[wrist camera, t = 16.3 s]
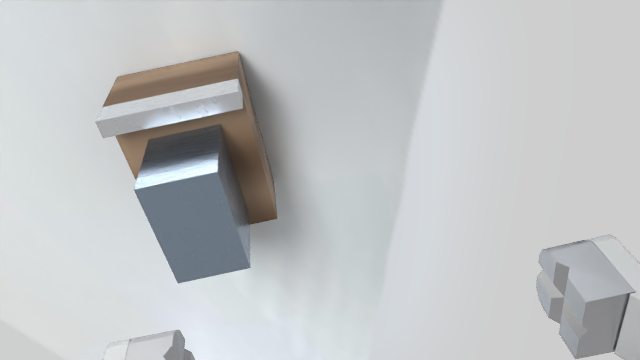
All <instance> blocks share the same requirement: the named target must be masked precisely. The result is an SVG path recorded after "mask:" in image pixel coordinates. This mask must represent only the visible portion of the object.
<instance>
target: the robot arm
mask: <svg viewBox="0 0 640 360" xmlns="http://www.w3.org/2000/svg"><path fill="white" fill-rule="evenodd" d="M539 263H540V265H541V267H542V268H543V271H542V272H541V273H540V274H539V275H538V276H537V292H538V296H539V300H540V302H541V305H542V307H543V309H544V311H545V312H546V314H547V316H548V317H549V318H551V319H552V320H554V321H556V322H558V323H560V331H559V334H560V336H561V338H562V339H563V341H564V342H565V344H566V345H567V347H568V348H569V350H570V352H571V353H572V355H573V356H574V357H575V359H578V358H583V357H588V356H593V355H599V354H604V353H609V352H614V351H615V354H616V355H618V356H619V357H621V358H622V359H624V360H640V263H639V262H638V261H637V260H636V259H635V258H634V256H633V255H632V254H631V253H630V252H629V251H628V250H627V249H626V248H625V247H624V246H623V245H622V244H621V243H620V242H619V241H618V239H616V237H614V236H612V235H606V236H601V237H597V238H592V239H588V240H582V241H578V242H573V243H570V244H565V245H561V246H556V247H552V248H548V249H543V250H542V251H541V253H540V255H539ZM184 345H185V339H184V337H183V335H182V333H181V332H180V330H174V331H169V332H164V333H158V334H153V335H148V336H143V337H137V338H132V339H129V340H123V341H118V342H113V343H110V344H109V345H108V347H107V348H106V350H105V352H104V356H103V360H195V359H194V356H193V354H192V352H190V351H188V350H186V349H184Z"/></svg>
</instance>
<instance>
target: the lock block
mask: <svg viewBox="0 0 640 360" xmlns="http://www.w3.org/2000/svg"><path fill="white" fill-rule="evenodd" d="M134 191H135V193H136V195H137V197H138V199H139V202H140V204H141V206H142V208H143V210H144V212H145V214H146V216H147V219H148V221H149V223H150V225H151V227H152V229H153V231H154V233H155V236H156V238H157V240H158V242H159V244H160V246H161V248H162V250H163V253H164V255H165V257H166V259H167V261H168V263H169V265H170V267H171V270H172V272H173V274H174V276H175V278H176V280H177V282H178V283H182V282H186V281H191V280H196V279H200V278H205V277H210V276H214V275H219V274H224V273H228V272H233V271H238V270H242V269H247V268H250V230H249V212H248V209H247V205H246V202H245V199H244V196H243V193H242V190H241V187H240V183H239V180H238V177H237V174H236V171H235V168H234V165H233V162H232V158H231V155H230V152H229V149H228V146H227V143H226V140H225V137H224V133H223V130H222V127H221V124H218V125H213V126H208V127H204V128H199V129H194V130H190V131H185V132H180V133H175V134H171V135H166V136H161V137H157V138H152V139H149V140H148V143H147V147H146V150H145V153H144V157H143V160H142V164H141V167H140V170H139V174H138V177H137V181H136V184H135V187H134Z"/></svg>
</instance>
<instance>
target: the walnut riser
mask: <svg viewBox="0 0 640 360" xmlns="http://www.w3.org/2000/svg"><path fill="white" fill-rule="evenodd" d="M95 122H96V124H97V126H98V128H99V131H100V133H101V135H102V137H103V138H106V137H111V136H116V138H117V140H118V142H119V145H120V147H121V149H122V151H123V153H124V155H125V157H126V160H127V162H128V164H129V166H130V168H131V170H132V173H133V175H134V177H135V179H136V181H137V177H138V174H139V170H140V167H141V164H142V160H143V157H144V153H145V150H146V147H147V143H148V140H149V139H152V138H157V137H161V136H166V135H171V134H175V133H180V132H185V131H190V130H194V129H199V128H204V127H208V126H213V125H218V124H221V127H222V130H223V133H224V137H225V140H226V143H227V146H228V149H229V152H230V155H231V158H232V162H233V165H234V168H235V171H236V174H237V177H238V180H239V183H240V187H241V190H242V193H243V196H244V199H245V202H246V205H247V209H248V212H249V225H250V224H254V223H259V222H264V221H268V220H273V219H277V210H276V200H275V189H274V181H273V178H272V174H271V170H270V167H269V163H268V159H267V156H266V152H265V148H264V145H263V141H262V137H261V133H260V130H259V126H258V122H257V119H256V115H255V111H254V108H253V104H252V100H251V97H250V93H249V89H248V86H247V82H246V78H245V75H244V71H243V67H242V64H241V60H240V56H239V53H238V52H233V53H228V54H224V55H219V56H214V57H209V58H205V59H200V60H195V61H190V62H186V63H181V64H176V65H172V66H167V67H162V68H157V69H153V70H148V71H143V72H138V73H134V74H129V75H124V76H119V77H117V79H116V81H115V83H114V85H113V87H112V89H111V91H110V93H109V95H108V97H107V99H106V101H105V103H104V105H103V107H102V109H101V111H100V113H99V115H98V117H97V119H96V121H95Z"/></svg>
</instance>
